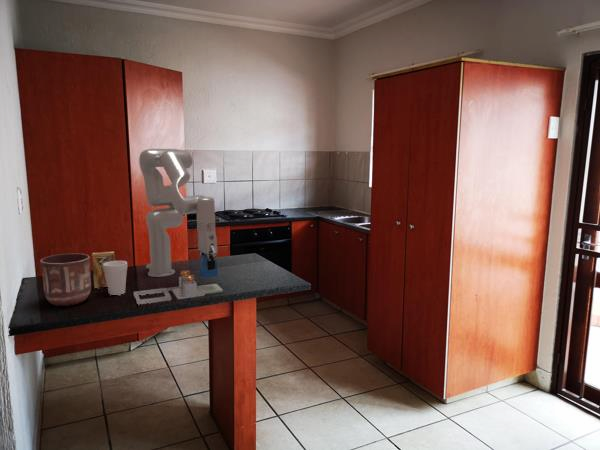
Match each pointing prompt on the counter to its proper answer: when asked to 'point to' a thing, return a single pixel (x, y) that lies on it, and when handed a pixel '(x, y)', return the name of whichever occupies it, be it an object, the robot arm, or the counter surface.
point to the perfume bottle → (206, 267)
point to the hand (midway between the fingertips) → (207, 267)
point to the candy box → (100, 267)
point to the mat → (209, 288)
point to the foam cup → (115, 276)
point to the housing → (179, 292)
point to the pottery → (66, 278)
